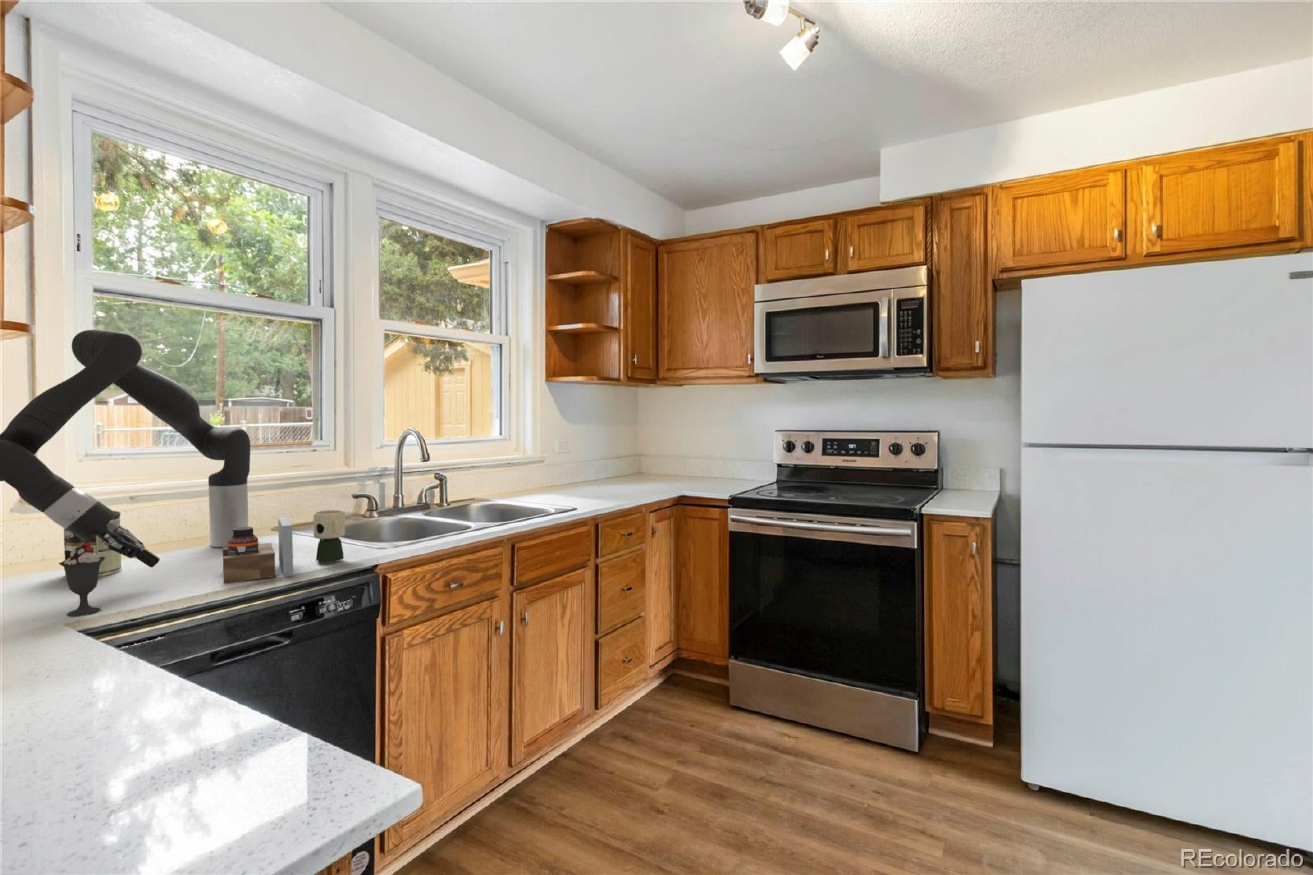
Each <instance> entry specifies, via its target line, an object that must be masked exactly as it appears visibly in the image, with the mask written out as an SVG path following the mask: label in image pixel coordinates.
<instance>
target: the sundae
mask: <svg viewBox="0 0 1313 875" xmlns="http://www.w3.org/2000/svg"><path fill="white" fill-rule="evenodd" d="M91 537H93V538H94V537H95V536H94V535H91ZM91 537H90V538H91ZM90 538H89V539H90ZM89 539H88V540H89ZM91 539H92V538H91ZM91 539H90V540H91ZM88 540H87V542H88ZM90 540H89V542H90ZM87 542H86V543H84V544H82V546H80V547H77V548H75V549H74V550H72V551H68V550H65V549H64V552H63V553H64V560H63V561H62V562H58V564H59V565H60V566H62V567H63V568H64V573H65V574H66V577H65V578H66V583H67V586H68V589H69V591H71V593H73V594H75V595H78V596H79V605H78V607H77V608H76V609H73V610H72V611H71V610H70V611H69V612H67V614H66V616H68V617H82V616H81V615H84V616H88V615H87V614H89V615H93V614H96V613H98V611H99V612H100V611H101V610H102V608H100V607H94V606H91V605H90V604H89V601H88V595H89V594H90V593H91V592H93V591H94V590H95V588H96V587H97V586H98V582H99V577H98V576H99V568H100V564H101V562H102V561H103V560H104V559H105V557H99V555H98V554H97V553H96V552H94V551H93V550H94V548H93V547H91V546H90V545H89V542H88V543H87Z"/></svg>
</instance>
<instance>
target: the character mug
mask: <svg viewBox="0 0 1313 875" xmlns="http://www.w3.org/2000/svg"><path fill="white" fill-rule="evenodd" d="M345 514H346V513H345V510H342V509H329V510H328V509H326V510H325V509H324V510H318V511H314V512H313V538H314V539H319V541H318V543H317V548H316V549H317V551H316V558H315V562H317V563H319V564H329V563H330V564H334V562H337V561H341V560H344V558H345V556H344V551H343V543H342V540H341V537H344V536H345V534H346V519H345V518H346V515H345Z"/></svg>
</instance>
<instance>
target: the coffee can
mask: <svg viewBox="0 0 1313 875" xmlns="http://www.w3.org/2000/svg"><path fill="white" fill-rule="evenodd" d="M113 511H114V512H115V513H116V516H115V517H114V518H113V519H112V520H111V521H110V523H112V524H113V525H115V526H117V527H118V526H119V525H120V526H121V512H120V511H117V510H113ZM94 536H95V537H94V538H93V537H91V538H92V539H91V538H90V539H91V540H90V539H89V540H90V542H89V540H88V542H89V545H90V546H91V547H93V548H94V550H93V551H94V552H96V553H97V554H98V555H99V557H105V559H104V560H103V561H102V562H101V564H100V568H99V576H98V578H100V577H106V575H107V576H111V575H115V574H117V573H119V572H121V571H122V570H123V568H122V554H120V553H118V552H115V551H113V550H110V549H109V548H108V546H106V545H104V544H103V543H102V541H103V540H102V539H101V538H99V537H98V536H97V535H94ZM63 540H64V541H63V544H64V546H63V547H64V551H65V550H68V551H72V550H74V549H75V548H77V547H80V546H82V544H84V543H86V542H87V541H84V540H82V539H80V538H79V537H77V536H76V535H74V534H72V533H71V532H69V531H68V530H66V529H65V528H63ZM88 542H87V543H88ZM114 573H115V574H114ZM110 574H111V575H110ZM64 578H66V574H65V575H64Z"/></svg>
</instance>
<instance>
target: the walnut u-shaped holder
mask: <svg viewBox="0 0 1313 875" xmlns="http://www.w3.org/2000/svg"><path fill="white" fill-rule="evenodd" d="M274 549H275V548H273V545H272V542H268V543H258V553H252V554H243V555H233V556H228V547H222V570H223V571H222V573H223V576H222V577H223V584H229V583H235V582H243V581H253V580H261V579H266V578H267V579H268V578H274V577H275V578H276V554H275V553H276V552H275V550H274Z"/></svg>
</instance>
